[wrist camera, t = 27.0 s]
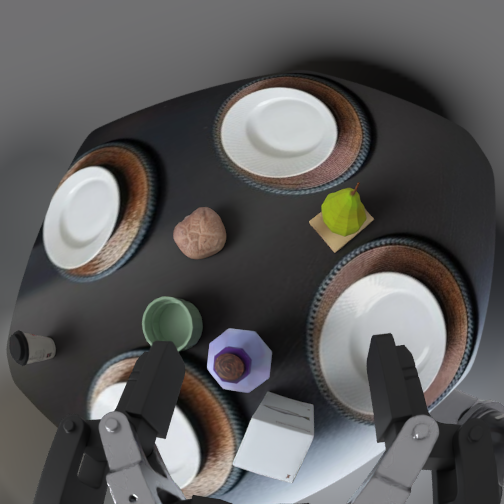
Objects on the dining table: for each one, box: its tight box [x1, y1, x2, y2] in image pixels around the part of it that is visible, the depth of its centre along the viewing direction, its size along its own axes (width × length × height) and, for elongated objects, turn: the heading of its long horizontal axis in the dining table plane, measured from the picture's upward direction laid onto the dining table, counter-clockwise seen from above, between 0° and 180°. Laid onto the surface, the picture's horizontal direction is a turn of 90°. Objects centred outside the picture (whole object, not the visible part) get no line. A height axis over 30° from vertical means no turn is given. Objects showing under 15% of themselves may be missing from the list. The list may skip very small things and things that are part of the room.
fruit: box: [321, 182, 367, 237], centre depth 36 cm, size 6×6×12 cm
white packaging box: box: [233, 391, 314, 483], centre depth 31 cm, size 7×7×13 cm
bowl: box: [142, 297, 203, 352], centre depth 41 cm, size 8×8×4 cm
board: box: [309, 208, 374, 253], centre depth 42 cm, size 6×8×1 cm
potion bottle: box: [207, 328, 272, 393], centre depth 35 cm, size 9×9×12 cm
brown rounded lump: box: [173, 207, 226, 259], centre depth 44 cm, size 8×6×8 cm
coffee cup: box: [10, 331, 56, 366], centre depth 43 cm, size 7×7×10 cm
